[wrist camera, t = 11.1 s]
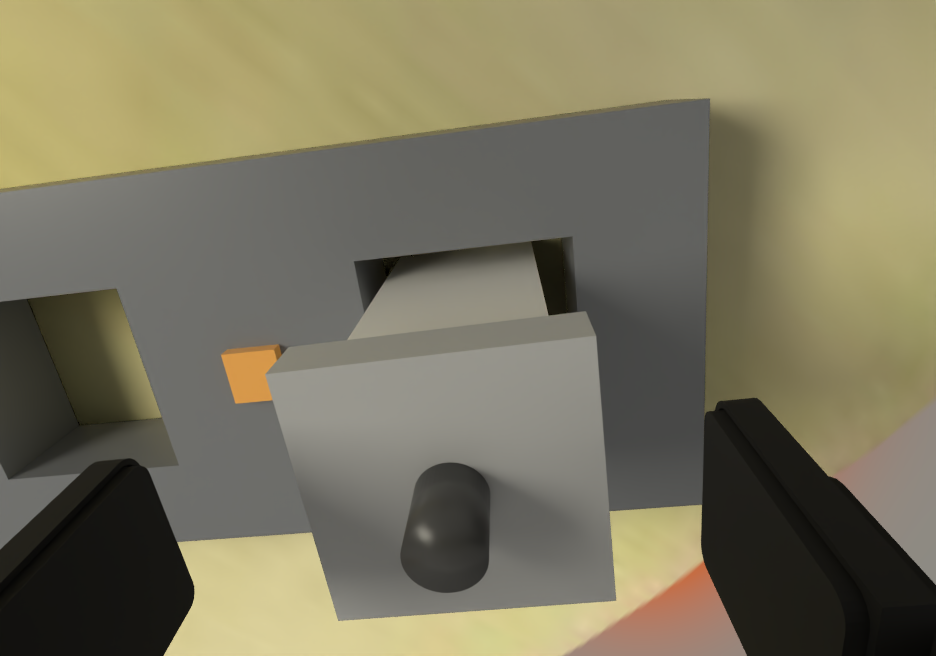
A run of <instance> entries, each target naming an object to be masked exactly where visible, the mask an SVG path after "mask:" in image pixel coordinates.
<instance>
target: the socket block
mask: <svg viewBox="0 0 936 656" xmlns="http://www.w3.org/2000/svg"><path fill="white" fill-rule="evenodd" d="M709 117H710V99H680V100H665V101H657V102H650V103H642V104H635V105H627V106H620V107H612V108H605V109H597V110H590V111H582V112H575V113H567V114H560V115H552V116H545V117H537V118H530V119H522V120H515V121H507V122H500V123H492V124H485V125H477V126H470V127H462V128H455V129H447V130H440V131H432V132H425V133H417V134H410V135H402V136H395V137H387V138H380V139H372V140H365V141H357V142H350V143H342V144H335V145H327V146H320V147H312V148H305V149H297V150H290V151H282V152H275V153H267V154H260V155H252V156H245V157H237V158H230V159H222V160H215V161H207V162H200V163H192V164H185V165H177V166H169V167H162V168H154V169H147V170H139V171H132V172H124V173H117V174H109V175H102V176H94V177H87V178H79V179H72V180H64V181H57V182H49V183H42V184H34V185H27V186H19V187H12V188H4V189H0V549H1V548H2V547H3V546H4V545H5V544H6V543H8V542H9V541H10V540H11V539H12V538H13V537H14V536H15V535H16V534H17V533H18V532H19V531H20V530H21V529H22V528H24V527H25V526H26V525H27V524H28V523H29V522H30V521H31V520H32V519H33V518H34V517H35V516H36V515H37V514H38V513H39V512H41V511H42V510H43V509H44V508H45V507H46V506H47V505H48V504H49V503H50V502H51V501H52V500H53V499H54V498H55V497H56V496H58V495H59V494H60V493H61V492H62V491H63V490H64V489H65V488H66V487H67V486H68V485H69V484H70V483H71V482H72V481H74V480H75V479H76V478H77V477H78V476H79V475H80V474H81V473H82V472H83V471H84V470H85V469H86V468H87V467H88V466H90V465H91V464H93V463H94V462H97V461H105V460H115V459H126V458H131V459H134V460H136V461H137V462H138V463H139V465H140V466H144V467H145V468H147V469H148V471H149V473H150V475H151V478H152V480H153V483H154V485H155V488H156V490H157V493H158V495H159V498H160V501H161V503H162V506H163V508H164V511H165V513H166V516H167V518H168V521H169V523H170V526H171V528H172V531H173V533H174V536H175V538H176V541H177V542H183V541H197V540H211V539H225V538H239V537H253V536H267V535H281V534H295V533H309V532H312V531H311V527H310V524H309V520H308V517H307V514H306V510H305V507H304V504H303V500H302V497H301V494H300V490H299V487H298V483H297V480H296V477H295V473H294V470H293V467H292V463H291V460H290V457H289V453H288V450H287V447H286V443H285V440H284V436H283V433H282V430H281V426H280V423H279V420H278V416H277V413H276V410H275V406H274V403H273V400H272V396H271V393H270V389H269V386H268V383H267V379H266V376H265V374H266V373H267V372H268V370H269V369H270V368H271V367H272V366H273V365H274V363H275V362H276V361H277V360H278V359H279V358H280V357H281V355H282V354H283V353H284V352H285V351H286V350H287V348H288V347H294V346H302V345H310V344H319V343H327V342H335V341H343V340H347V339H348V338H349V336H350V335H351V333H352V332H353V330H354V328H355V327H356V325H357V324H358V322H359V321H360V319H361V318H362V316H363V314H364V313H365V311H366V310H367V308H368V307H369V305H370V304H371V302H372V301H373V299H374V297H375V296H376V294H377V293H378V291H379V290H380V288H381V287H382V285H383V283H384V282H385V280H386V275H385V269H384V264H383V258H388V257H397V256H405V255H414V254H423V253H432V252H440V251H449V250H458V249H467V248H475V247H484V246H493V245H502V244H510V243H519V242H528V241H537V240H546V239H554V238H562V251H563V265H564V279H565V293H566V307H567V313H574V312H583V311H586V313H587V315H588V318H589V320H590V322H591V325H592V327H593V329H594V332H595V334H596V341H597V354H598V367H599V380H600V394H601V407H602V420H603V433H604V446H605V460H606V473H607V486H608V499H609V511H618V510H632V509H646V508H660V507H674V506H688V505H702V492H703V454H704V401H705V344H706V287H707V230H708V174H709ZM107 289H117V292H118V294H119V297H120V300H121V303H122V306H123V308H124V311H125V314H126V317H127V320H128V323H129V325H130V328H131V331H132V334H133V337H134V340H135V342H136V345H137V348H138V351H139V354H140V356H141V359H142V362H143V365H144V368H145V371H146V373H147V376H148V379H149V382H150V385H151V388H152V390H153V393H154V396H155V399H156V402H157V405H158V407H159V410H160V413H161V416H162V418H157V419H146V420H135V421H124V422H113V423H102V424H91V425H80V426H79V424H78V422H77V419H76V417H75V414H74V412H73V410H72V407H71V405H70V402H69V400H68V398H67V395H66V393H65V390H64V388H63V385H62V383H61V381H60V378H59V376H58V373H57V371H56V368H55V366H54V364H53V361H52V359H51V356H50V354H49V352H48V349H47V347H46V344H45V342H44V339H43V337H42V335H41V332H40V330H39V327H38V325H37V322H36V320H35V318H34V315H33V313H32V310H31V308H30V306H29V303H28V301H27V299H28V298H37V297H46V296H55V295H63V294H72V293H81V292H90V291H99V290H107Z"/></svg>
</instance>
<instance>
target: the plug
mask: <svg viewBox="0 0 936 656" xmlns="http://www.w3.org/2000/svg"><path fill="white" fill-rule="evenodd" d="M265 376H266V379H267V383H268V386H269V389H270V393H271V396H272V400H273V403H274V406H275V410H276V413H277V416H278V420H279V423H280V426H281V430H282V433H283V436H284V440H285V443H286V447H287V450H288V453H289V457H290V460H291V463H292V467H293V470H294V473H295V477H296V480H297V483H298V487H299V490H300V494H301V497H302V500H303V504H304V507H305V510H306V514H307V517H308V520H309V524H310V527H311V531H312V534H313V537H314V541H315V544H316V547H317V551H318V554H319V557H320V561H321V564H322V567H323V571H324V574H325V578H326V581H327V584H328V588H329V591H330V594H331V598H332V601H333V604H334V608H335V611H336V615H337V618H338V621H343V620H356V619H370V618H384V617H398V616H411V615H425V614H439V613H453V612H467V611H480V610H494V609H508V608H522V607H536V606H549V605H563V604H577V603H591V602H605V601H616V592H615V579H614V566H613V552H612V539H611V526H610V513H609V499H608V486H607V473H606V460H605V446H604V433H603V420H602V407H601V394H600V380H599V367H598V354H597V341H596V334H595V332H594V329H593V327H592V325H591V322H590V320H589V318H588V315H587V313H586V311H583V312H574V313H566V314H558V315H550V316H548V311H547V307H546V303H545V299H544V294H543V290H542V286H541V282H540V278H539V273H538V269H537V265H536V261H535V256H534V252H533V248H532V244H531V241H528V242H519V243H510V244H502V245H493V246H484V247H475V248H468V249H460V250H453V251H445V252H438V253H430V254H423V255H416V256H408V257H401V258H400V259H399V260H398V262H397V263H396V265H395V266H394V268H393V269H392V271H391V273H390V274H389V276H388V277H387V279H386V280H385V282H384V283H383V285H382V287H381V288H380V290H379V291H378V293H377V294H376V296H375V297H374V299H373V301H372V302H371V304H370V305H369V307H368V308H367V310H366V311H365V313H364V314H363V316H362V318H361V319H360V321H359V322H358V324H357V325H356V327H355V328H354V330H353V332H352V333H351V335H350V336H349V338H348V339H347V340H343V341H335V342H327V343H319V344H310V345H302V346H294V347H288V348H287V350H286V351H285V352H284V353H283V354H282V355H281V357H280V358H279V359H278V360H277V361H276V362H275V363H274V365H273V366H272V367H271V368H270V369H269V370H268V372H267V373H266V374H265Z"/></svg>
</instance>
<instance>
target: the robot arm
mask: <svg viewBox="0 0 936 656" xmlns="http://www.w3.org/2000/svg"><path fill="white" fill-rule="evenodd" d="M701 548H702V555H703V559H704V563H705V566H706V568H707V570H708V573H709V575H710V577H711V579H712V581H713V583H714V586H715V588H716V590H717V592H718V594H719V596H720V598H721V601H722V603H723V605H724V607H725V609H726V611H727V614H728V615H729V618H730V620H731V622H732V624H733V626H734V628H735V631H736V633H737V635H738V637H739V639H740V641H741V643H742V646H743V648H744V650H745V652H746V654H747V656H936V585H935V584H934V583H933V581H932V580H930V578H929V577H928V576H927V575H926V574H925V573H924V572H923V571H922V570H921V568H920V567H919V566H918V565H917V564H916V563H915V562H914V561H913V560H912V559H911V558H910V557H909V555H908V554H907V553H906V552H905V551H904V550H903V549H902V548H901V547H900V545H899V544H898V543H897V542H896V541H895V540H894V539H893V538H892V537H891V536H890V535H889V533H888V532H887V531H886V530H885V529H884V528H883V527H882V526H881V525H880V524H879V523H878V521H877V520H876V519H875V518H874V517H873V516H872V515H871V514H870V513H869V512H868V511H867V509H866V508H865V507H864V506H863V505H862V504H861V503H860V502H859V501H858V500H857V499H856V498H855V496H854V495H853V494H852V493H851V492H850V491H849V490H848V489H847V488H846V487H845V486H844V485H843V484H842V483H841V482H840V481H838V480H837V479H835V478H832V477H828V476H827V474H826V473H825V472H824V471H823V470H822V469H821V468H820V467H819V465H818V464H817V463H816V462H815V461H814V460H813V459H812V458H811V457H810V455H809V454H808V453H807V452H806V451H805V450H804V449H803V448H802V446H801V445H800V444H799V443H798V442H797V441H796V440H795V439H794V438H793V436H792V435H791V434H790V433H789V432H788V431H787V430H786V429H785V428H784V426H783V425H782V424H781V423H780V422H779V421H778V420H777V419H776V417H775V416H774V415H773V414H772V413H771V412H770V411H769V410H768V409H767V407H766V406H765V405H764V404H763V403H762V402H761V401H760V400H759V399H757V398H749V399H739V400H728V401H719V402H718V403H717V405H716V408H715V411H709V412H707V413H706V415H705V420H704V454H703V492H702V531H701ZM193 600H194V585H193V581H192V579H191V576H190V574H189V571H188V569H187V566H186V564H185V561H184V559H183V556H182V554H181V551H180V549H179V546H178V544H177V541H176V538H175V536H174V533H173V531H172V528H171V526H170V523H169V521H168V518H167V516H166V513H165V511H164V508H163V506H162V503H161V501H160V498H159V495H158V493H157V490H156V488H155V485H154V483H153V480H152V478H151V475H150V473H149V471H148V469H147V468H145V467H144V466H140V465H139V463H138V462H137V461H136V460H134V459H131V458H126V459H115V460H105V461H97V462H94V463H93V464H91V465H90V466H88V467H87V468H86V469H85V470H84V471H83V472H82V473H81V474H80V475H79V476H78V477H77V478H76V479H75V480H74V481H72V482H71V483H70V484H69V485H68V486H67V487H66V488H65V489H64V490H63V491H62V492H61V493H60V494H59V495H58V496H56V497H55V498H54V499H53V500H52V501H51V502H50V503H49V504H48V505H47V506H46V507H45V508H44V509H43V510H42V511H41V512H39V513H38V514H37V515H36V516H35V517H34V518H33V519H32V520H31V521H30V522H29V523H28V524H27V525H26V526H25V527H24V528H22V529H21V530H20V531H19V532H18V533H17V534H16V535H15V536H14V537H13V538H12V539H11V540H10V541H9V542H8V543H6V544H5V545H4V546H3V547H2V548H1V549H0V656H163V655H164V654H165V652H166V650H167V648H168V647H169V645H170V643H171V641H172V640H173V638H174V636H175V634H176V633H177V631H178V629H179V627H180V626H181V624H182V622H183V620H184V619H185V617H186V615H187V614H188V612H189V610H190V608H191V606H192V603H193Z"/></svg>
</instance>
